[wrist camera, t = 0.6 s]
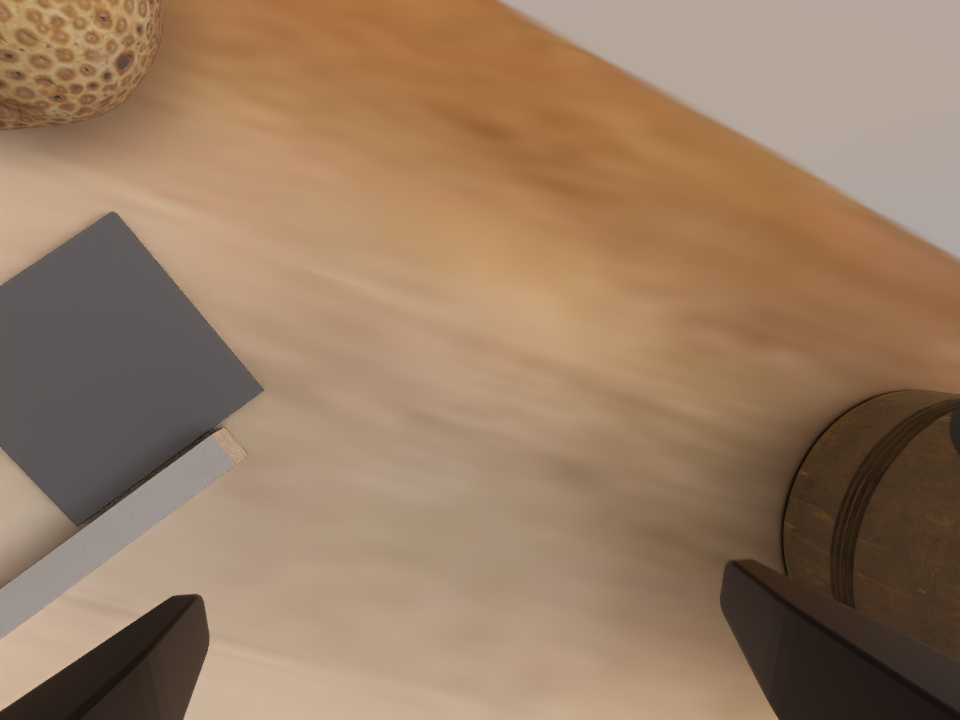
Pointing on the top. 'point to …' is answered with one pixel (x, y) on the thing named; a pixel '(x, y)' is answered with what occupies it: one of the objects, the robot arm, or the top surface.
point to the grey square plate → (106, 369)
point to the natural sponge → (72, 57)
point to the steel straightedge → (116, 528)
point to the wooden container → (885, 515)
